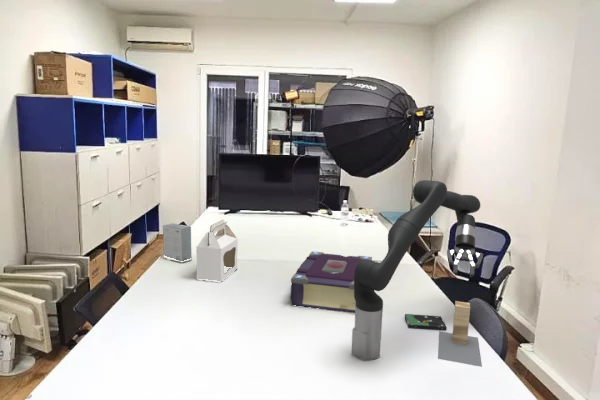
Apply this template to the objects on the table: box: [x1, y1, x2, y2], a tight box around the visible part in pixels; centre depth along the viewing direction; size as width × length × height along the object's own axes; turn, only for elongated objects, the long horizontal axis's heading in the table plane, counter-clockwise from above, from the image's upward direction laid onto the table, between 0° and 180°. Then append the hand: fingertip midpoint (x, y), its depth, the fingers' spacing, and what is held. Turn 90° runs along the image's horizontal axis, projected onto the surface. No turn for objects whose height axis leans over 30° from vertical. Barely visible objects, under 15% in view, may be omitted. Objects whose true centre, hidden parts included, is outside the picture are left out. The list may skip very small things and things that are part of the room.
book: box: [290, 251, 373, 314], centre depth 210 cm, size 33×45×14 cm
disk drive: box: [404, 313, 448, 332], centre depth 177 cm, size 10×3×15 cm
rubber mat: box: [437, 330, 483, 368], centre depth 158 cm, size 22×14×1 cm, turn 161°
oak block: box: [451, 300, 471, 344], centre depth 163 cm, size 5×5×14 cm
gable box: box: [196, 219, 238, 281], centre depth 227 cm, size 22×13×28 cm, turn 167°
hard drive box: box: [162, 223, 192, 261], centre depth 252 cm, size 16×8×20 cm, turn 58°
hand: (463, 275), depth 171 cm, fingers open, 5 cm apart
